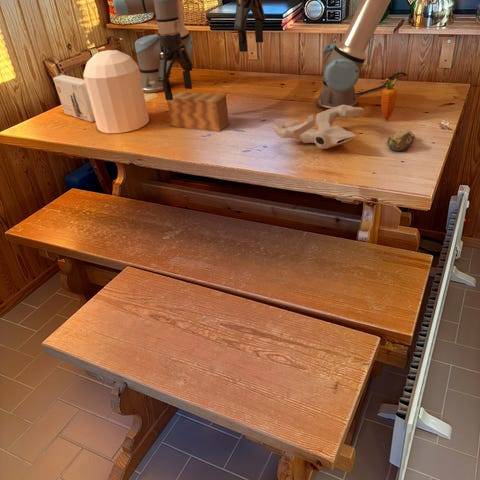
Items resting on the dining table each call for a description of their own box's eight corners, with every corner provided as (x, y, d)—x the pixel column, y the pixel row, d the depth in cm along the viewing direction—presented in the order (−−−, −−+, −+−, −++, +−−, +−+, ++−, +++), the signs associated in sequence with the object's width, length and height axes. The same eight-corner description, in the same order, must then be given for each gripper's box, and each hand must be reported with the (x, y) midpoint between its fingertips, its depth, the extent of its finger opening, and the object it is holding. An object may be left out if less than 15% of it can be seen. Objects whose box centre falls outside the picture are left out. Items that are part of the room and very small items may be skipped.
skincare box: (63, 114, 202) (52, 77, 193) (74, 110, 205) (63, 74, 196) (91, 122, 190) (80, 83, 181) (101, 118, 193) (91, 80, 184)
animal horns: (271, 156, 148) (270, 121, 142) (282, 128, 169) (280, 95, 163) (362, 157, 142) (365, 119, 136) (361, 127, 163) (363, 93, 157)
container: (103, 137, 175) (82, 61, 159) (92, 121, 191) (73, 50, 175) (155, 125, 181) (141, 50, 166) (141, 110, 198) (127, 41, 182)
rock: (408, 140, 153) (379, 139, 152) (414, 122, 149) (384, 120, 148) (421, 154, 144) (391, 153, 143) (428, 135, 140) (396, 133, 139)
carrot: (394, 118, 167) (398, 76, 158) (393, 123, 163) (397, 80, 154) (379, 117, 168) (383, 75, 160) (378, 122, 165) (382, 80, 156)
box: (171, 126, 180) (166, 97, 173) (181, 119, 185) (176, 91, 179) (219, 131, 171) (216, 101, 165) (228, 124, 176) (225, 94, 170)
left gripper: (158, 41, 152) (169, 105, 164) (196, 26, 170) (204, 84, 182) (140, 41, 155) (152, 104, 167) (179, 26, 173) (187, 83, 185)
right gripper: (241, -17, 141) (246, 55, 153) (272, -28, 158) (274, 38, 171) (219, -16, 144) (226, 55, 156) (252, -27, 161) (256, 38, 174)
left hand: (179, 94), depth 174 cm, fingers open, 13 cm apart
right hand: (251, 46), depth 163 cm, fingers open, 13 cm apart
